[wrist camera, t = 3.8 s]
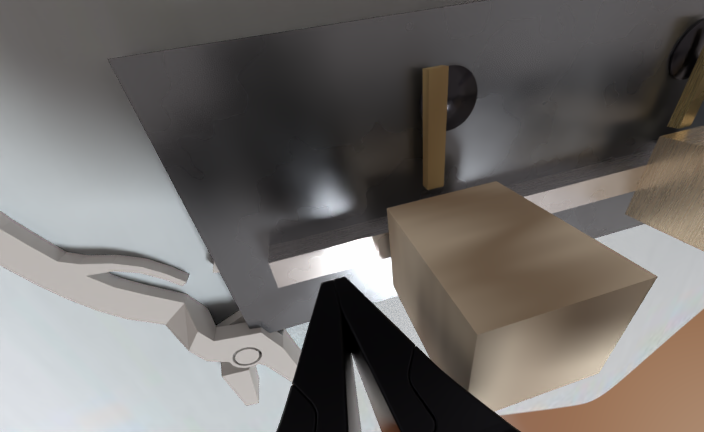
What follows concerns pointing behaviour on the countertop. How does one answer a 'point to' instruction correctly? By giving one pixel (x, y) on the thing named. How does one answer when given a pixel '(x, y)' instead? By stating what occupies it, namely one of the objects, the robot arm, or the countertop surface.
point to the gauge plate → (407, 132)
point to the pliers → (150, 305)
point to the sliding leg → (504, 281)
